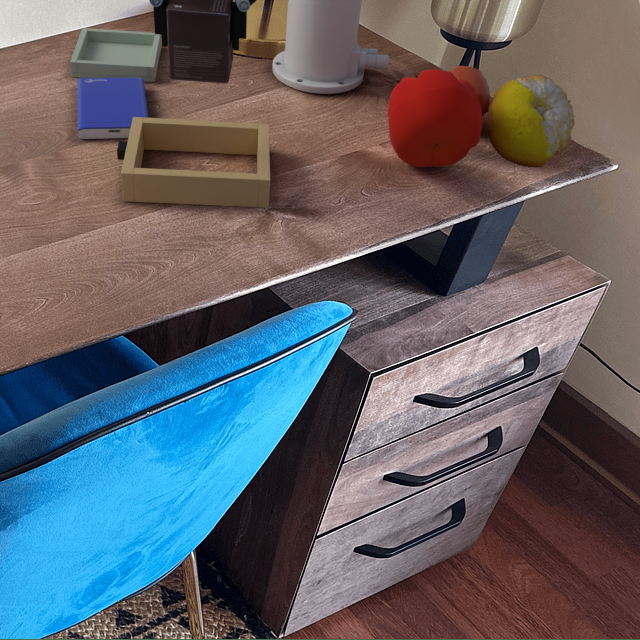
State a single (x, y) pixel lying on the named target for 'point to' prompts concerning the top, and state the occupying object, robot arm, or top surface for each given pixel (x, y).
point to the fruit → (530, 120)
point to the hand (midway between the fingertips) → (201, 41)
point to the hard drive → (109, 106)
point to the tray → (116, 54)
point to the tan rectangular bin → (195, 183)
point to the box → (200, 40)
